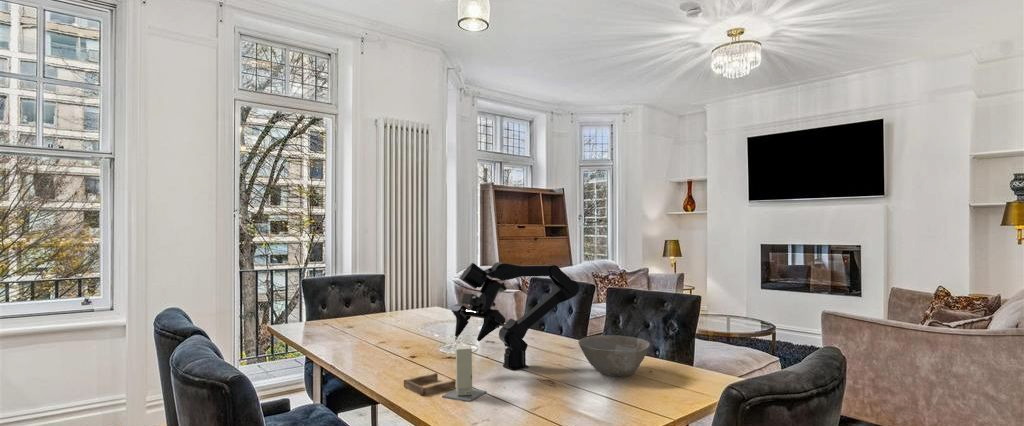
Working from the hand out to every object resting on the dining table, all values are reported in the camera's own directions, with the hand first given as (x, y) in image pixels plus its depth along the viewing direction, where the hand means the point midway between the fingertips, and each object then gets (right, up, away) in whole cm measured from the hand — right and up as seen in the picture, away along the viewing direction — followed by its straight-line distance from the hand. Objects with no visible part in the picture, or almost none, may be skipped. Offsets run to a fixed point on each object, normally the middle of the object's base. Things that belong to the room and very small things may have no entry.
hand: (466, 338), depth 163 cm
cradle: (-10, -12, -10) cm, 19 cm away
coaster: (+1, -12, -17) cm, 20 cm away
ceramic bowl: (+47, -12, +3) cm, 48 cm away
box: (+1, -12, -16) cm, 20 cm away
